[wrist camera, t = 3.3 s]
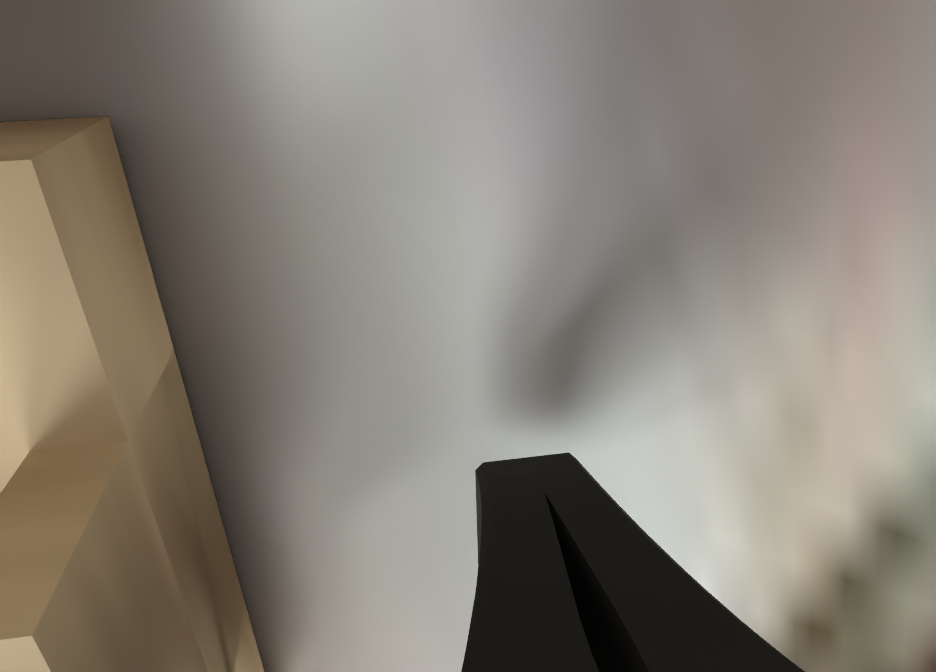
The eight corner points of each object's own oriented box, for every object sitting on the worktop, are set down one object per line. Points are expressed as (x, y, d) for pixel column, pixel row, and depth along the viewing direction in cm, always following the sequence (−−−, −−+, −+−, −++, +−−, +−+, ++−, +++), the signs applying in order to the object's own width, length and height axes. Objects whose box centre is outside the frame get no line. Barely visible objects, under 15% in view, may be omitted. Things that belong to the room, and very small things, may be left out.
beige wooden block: (275, 712, 13) (239, 1031, 9) (111, 737, 12) (-1, 1080, 9) (107, 115, 7) (-162, 267, 4) (-189, 131, 7) (-835, 319, 3)
